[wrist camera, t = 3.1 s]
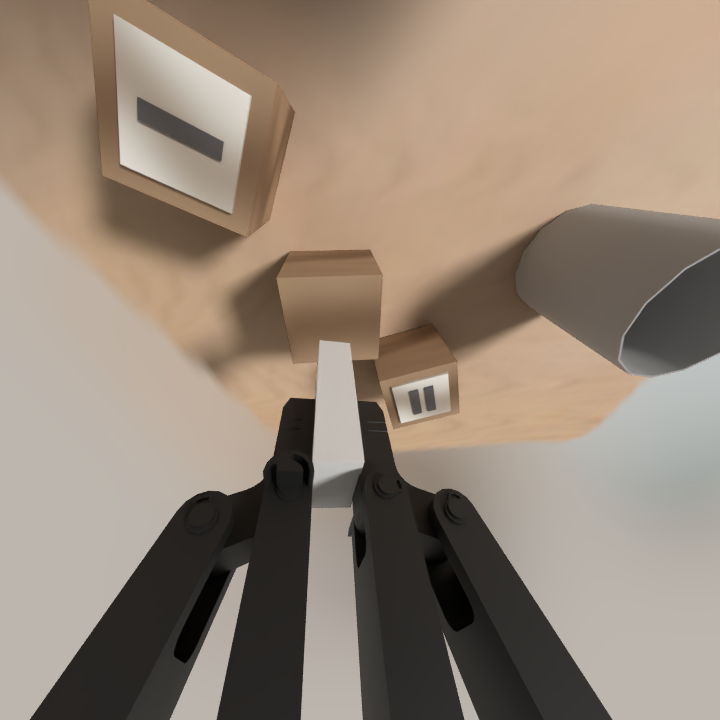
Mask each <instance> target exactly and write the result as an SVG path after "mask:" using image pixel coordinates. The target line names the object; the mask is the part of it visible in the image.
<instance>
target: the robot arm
mask: <svg viewBox="0 0 720 720" xmlns="http://www.w3.org/2000/svg"><path fill="white" fill-rule="evenodd" d="M263 477H264V479H263V480H262V481H261V482H260V483H258V484H257V485H255V486H254V487H252V488H249V489H247V490H244V491H241V492H238V493H235V494H232V495H228V496H227V495H225V494H223V493H221V492H219V491H207V492H203V493H200V494H197V495H195V496H194V497H192V498H191V499H189V500H188V501H186V502H185V503H184V504H183V505H182V506H181V507H180V508H179V510H178V511H177V512H176V513H175V515H174V516H173V517H172V519H171V520H170V522H169V523H168V525H167V526H166V527H165V529H164V530H163V532H162V533H161V534H160V536H159V537H158V539H157V540H156V542H155V543H154V545H153V546H152V547H151V549H150V550H149V552H148V553H147V554H146V556H145V557H144V559H143V560H142V562H141V563H140V564H139V566H138V567H137V569H136V570H135V571H134V573H133V574H132V576H131V577H130V579H129V580H128V581H127V583H126V584H125V586H124V587H123V588H122V590H121V591H120V593H119V594H118V596H117V597H116V598H115V600H114V601H113V603H112V604H111V605H110V607H109V608H108V610H107V611H106V613H105V614H104V615H103V617H102V618H101V620H100V621H99V622H98V624H97V625H96V627H95V628H94V629H93V631H92V632H91V634H90V635H89V637H88V638H87V639H86V641H85V642H84V644H83V645H82V647H81V648H80V649H79V651H78V652H77V654H76V655H75V657H74V658H73V659H72V661H71V662H70V664H69V665H68V666H67V668H66V669H65V671H64V672H63V673H62V675H61V677H60V678H59V679H58V681H57V682H56V683H55V685H54V686H53V688H52V689H51V690H50V692H49V693H48V695H47V696H46V698H45V699H44V700H43V702H42V703H41V705H40V706H39V707H38V709H37V710H36V712H35V713H34V715H33V716H32V717H31V719H30V720H170V718H171V715H172V713H173V710H174V708H175V706H176V704H177V702H178V700H179V697H180V695H181V693H182V690H183V688H184V686H185V684H186V681H187V679H188V677H189V675H190V672H191V670H192V668H193V665H194V663H195V661H196V659H197V656H198V654H199V652H200V650H201V647H202V645H203V643H204V640H205V638H206V636H207V634H208V631H209V629H210V627H211V625H212V622H213V620H214V618H215V615H216V613H217V611H218V609H219V606H220V604H221V602H222V600H223V597H224V595H225V593H226V591H227V588H228V586H229V583H230V581H231V579H232V577H233V575H234V572H235V570H236V568H237V567H240V566H242V565H244V564H247V563H249V565H248V570H247V575H246V580H245V585H244V589H243V594H242V599H241V604H240V609H239V614H238V618H237V624H236V628H235V633H234V638H233V643H232V648H231V652H230V657H229V662H228V667H227V672H226V677H225V682H224V687H223V692H222V697H221V701H220V706H219V711H218V716H217V720H301V701H302V682H303V663H304V642H305V623H306V603H307V584H308V565H309V546H310V526H311V508H334V507H351V504H352V501H353V514H354V515H353V518H352V522H351V524H350V527H349V532H348V536H351V535H352V545H353V563H354V578H355V594H356V595H355V596H356V612H357V629H358V646H359V663H360V679H361V695H362V711H363V720H464V717H463V712H462V709H461V704H460V700H459V696H458V692H457V688H456V684H455V680H454V676H453V672H452V668H451V664H450V660H449V656H448V652H447V648H446V644H445V640H444V636H443V633H444V635H445V637H446V640H447V642H448V645H449V647H450V650H451V652H452V654H453V657H454V660H455V662H456V664H457V667H458V669H459V672H460V674H461V676H462V679H463V681H464V684H465V686H466V689H467V691H468V693H469V696H470V698H471V701H472V703H473V706H474V708H475V710H476V713H477V715H478V717H479V720H612V718H611V717H610V715H609V714H608V712H607V711H606V709H605V708H604V706H603V705H602V703H601V702H600V700H599V698H598V697H597V695H596V694H595V692H594V691H593V689H592V688H591V686H590V685H589V683H588V681H587V680H586V678H585V677H584V676H583V674H582V672H581V671H580V669H579V668H578V666H577V665H576V663H575V662H574V660H573V659H572V657H571V655H570V654H569V653H568V651H567V649H566V648H565V646H564V645H563V643H562V641H561V640H560V638H559V637H558V635H557V634H556V632H555V631H554V629H553V628H552V626H551V625H550V623H549V621H548V620H547V618H546V617H545V615H544V614H543V612H542V611H541V609H540V608H539V606H538V604H537V603H536V602H535V600H534V598H533V597H532V595H531V594H530V593H529V591H528V589H527V588H526V586H525V585H524V583H523V581H522V580H521V578H520V577H519V575H518V574H517V572H516V571H515V569H514V568H513V566H512V564H511V563H510V561H509V560H508V559H507V557H506V555H505V554H504V552H503V551H502V549H501V548H500V546H499V544H498V543H497V541H496V540H495V538H494V537H493V535H492V534H491V532H490V531H489V529H488V527H487V526H486V524H485V523H484V521H483V520H482V518H481V517H480V515H479V514H478V512H477V511H476V509H475V507H474V506H473V504H472V503H471V502H470V501H469V500H468V499H467V497H465V496H464V495H462V494H461V493H460V492H458V491H456V490H453V489H442V490H440V491H439V492H437V493H436V494H433V493H430V492H427V491H424V490H421V489H418V488H416V487H414V486H411V485H410V484H409V483H407V482H406V481H405V480H404V479H403V478H402V477H401V476H400V475H399V473H398V471H397V469H396V466H395V462H394V458H393V453H392V449H391V444H390V440H389V436H388V433H387V427H386V424H385V418H384V414H383V411H382V409H381V408H380V407H379V405H378V404H377V402H367V401H357V396H356V388H355V380H354V372H353V364H352V356H351V348H350V343H343V342H333V341H323V340H320V342H319V353H318V363H317V373H316V384H315V399H301V398H290V399H289V401H288V402H287V403H286V404H285V406H284V407H283V411H282V416H281V421H280V426H279V431H278V436H277V441H276V446H275V451H274V456H273V457H272V458H271V459H270V460H269V461H268V462H267V464H266V466H265V468H264V470H263ZM442 630H443V631H442Z"/></svg>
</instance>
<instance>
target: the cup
mask: <svg viewBox="0 0 720 720" xmlns="http://www.w3.org/2000/svg"><path fill="white" fill-rule="evenodd" d="M515 282H516V291H517V295H518V296H519V297H520V298H521V299H522V300H523V301H524V302H525V303H526V305H527V306H529V307H530V308H532V309H533V310H535V311H536V312H538V313H539V314H541V315H542V316H544V317H545V318H546V319H548V320H549V321H551V322H552V323H554V324H555V325H557V326H558V327H560V328H561V329H563V330H564V331H566V332H567V333H569V334H570V335H572V336H573V337H575V338H576V339H577V340H579V341H580V342H582V343H583V344H585V345H586V346H588V347H589V348H591V349H592V350H594V351H595V352H597V353H598V354H600V355H601V356H603V357H604V358H605V359H607V360H608V361H610V362H611V363H613V364H614V365H616V366H617V367H619V368H620V369H622V370H623V371H625V372H626V373H628V374H630V375H637V376H645V377H656V376H661V375H665V374H670V373H674V372H678V371H683V370H685V369H687V368H690V367H692V366H694V365H696V364H698V363H701V362H703V361H705V360H707V359H709V358H711V357H713V356H716V355H718V354H720V219H712V218H704V217H695V216H687V215H679V214H671V213H663V212H654V211H646V210H638V209H630V208H621V207H613V206H605V205H597V204H590V205H586V206H582V207H579V208H575V209H571V210H568V211H565V212H564V213H562V214H561V215H560V216H558V217H557V218H556V219H554V220H553V221H551V222H550V223H549V224H547V225H546V226H544V227H543V228H542V229H541V230H540V231H539V232H538V233H537V235H536V236H535V237H534V239H533V240H532V241H531V243H530V244H529V245H528V246H527V248H526V249H525V250H524V252H523V253H522V256H521V259H520V262H519V265H518V268H517V271H516V274H515Z"/></svg>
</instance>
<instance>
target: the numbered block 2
mask: <svg viewBox="0 0 720 720" xmlns="http://www.w3.org/2000/svg"><path fill="white" fill-rule="evenodd" d="M374 361H375V366H376V370H377V374H378V379H379V383H380V386H381V389H382V393H383V396H384V399H385V403H386V406H387V409H388V413H389V416H390V419H391V423H392V426H393V429H397V428H401V427H405V426H409V425H413V424H417V423H421V422H425V421H429V420H433V419H437V418H441V417H445V416H449V415H453V414H457V413H459V392H458V370H457V360H456V359H455V357H454V356H453V354H452V353H451V351H450V350H449V348H448V347H447V345H446V344H445V342H444V341H443V339H442V338H441V337H440V335H439V334H438V332H437V331H436V329H435V328H434V326H433V325H432V324H429V325H425V326H422V327H418V328H414V329H411V330H407V331H404V332H400V333H396V334H393V335H389V336H386V337H382V338H379V354H378V359H374Z"/></svg>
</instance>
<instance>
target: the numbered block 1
mask: <svg viewBox="0 0 720 720" xmlns="http://www.w3.org/2000/svg"><path fill="white" fill-rule="evenodd" d="M88 2H89V14H90V27H91V40H92V52H93V65H94V78H95V91H96V103H97V116H98V129H99V141H100V154H101V167H102V176H105V177H107V178H109V179H112V180H114V181H116V182H119V183H121V184H123V185H126V186H128V187H131V188H133V189H135V190H138V191H140V192H142V193H145V194H147V195H149V196H152V197H154V198H156V199H159V200H161V201H163V202H166V203H168V204H170V205H173V206H175V207H177V208H180V209H182V210H184V211H187V212H189V213H191V214H194V215H196V216H198V217H201V218H203V219H205V220H208V221H210V222H212V223H215V224H217V225H219V226H222V227H224V228H227V229H229V230H231V231H234V232H236V233H238V234H241V235H243V236H245V237H248V236H249V235H250V234H252V233H253V232H254V231H255V230H257V229H258V228H259V227H261V226H262V225H263V224H265V223H266V222H267V221H269V220H270V216H271V211H272V207H273V203H274V199H275V194H276V190H277V186H278V182H279V178H280V173H281V169H282V165H283V161H284V156H285V152H286V148H287V144H288V139H289V135H290V131H291V127H292V122H293V118H294V114H295V111H294V110H293V108H292V106H291V105H290V103H289V101H288V100H287V98H286V97H285V95H284V93H283V92H282V90H281V88H280V87H279V85H278V83H276V82H275V81H273V80H272V79H270V78H268V77H267V76H265V75H264V74H262V73H261V72H259V71H257V70H256V69H254V68H253V67H251V66H249V65H248V64H246V63H245V62H243V61H242V60H240V59H238V58H237V57H235V56H234V55H232V54H231V53H229V52H227V51H226V50H224V49H223V48H221V47H219V46H218V45H216V44H215V43H213V42H212V41H210V40H208V39H207V38H205V37H204V36H202V35H200V34H199V33H197V32H196V31H194V30H193V29H191V28H189V27H188V26H186V25H185V24H183V23H182V22H180V21H178V20H177V19H175V18H174V17H172V16H170V15H169V14H167V13H166V12H164V11H163V10H161V9H159V8H158V7H156V6H155V5H153V4H151V3H150V2H148V1H147V0H88Z"/></svg>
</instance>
